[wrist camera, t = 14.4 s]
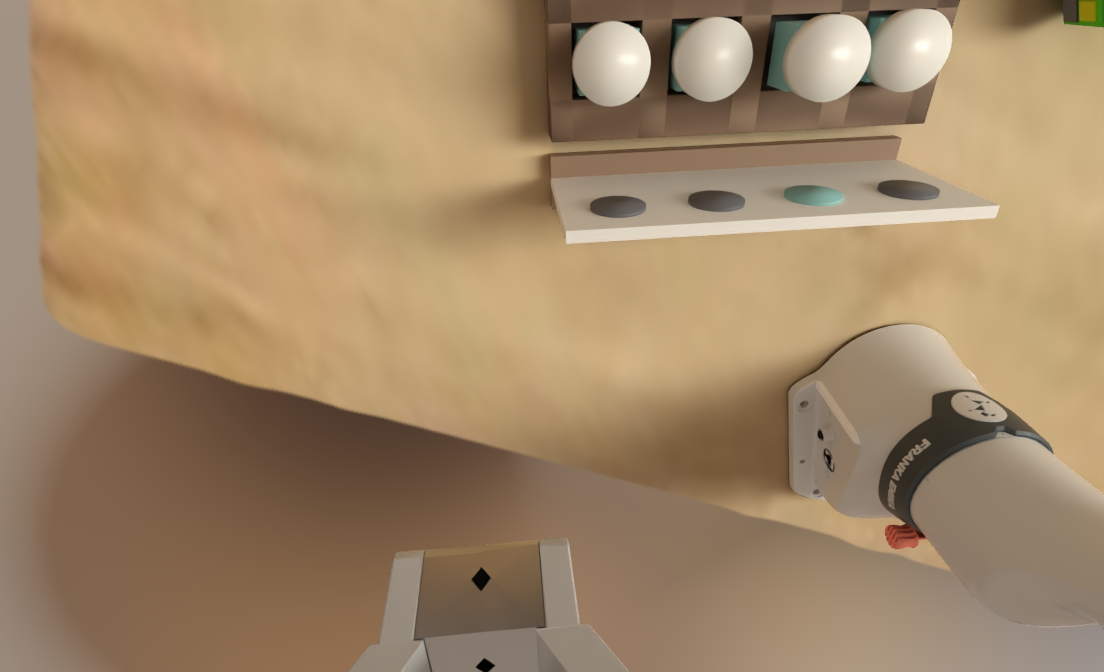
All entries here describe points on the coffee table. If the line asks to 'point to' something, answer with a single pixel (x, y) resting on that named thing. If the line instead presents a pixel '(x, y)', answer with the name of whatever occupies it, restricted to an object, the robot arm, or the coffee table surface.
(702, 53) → the button
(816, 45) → the button
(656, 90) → the walnut button board
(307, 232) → the coffee table surface
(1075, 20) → the toy car
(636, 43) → the button
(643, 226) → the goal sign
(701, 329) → the coffee table surface
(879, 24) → the button
